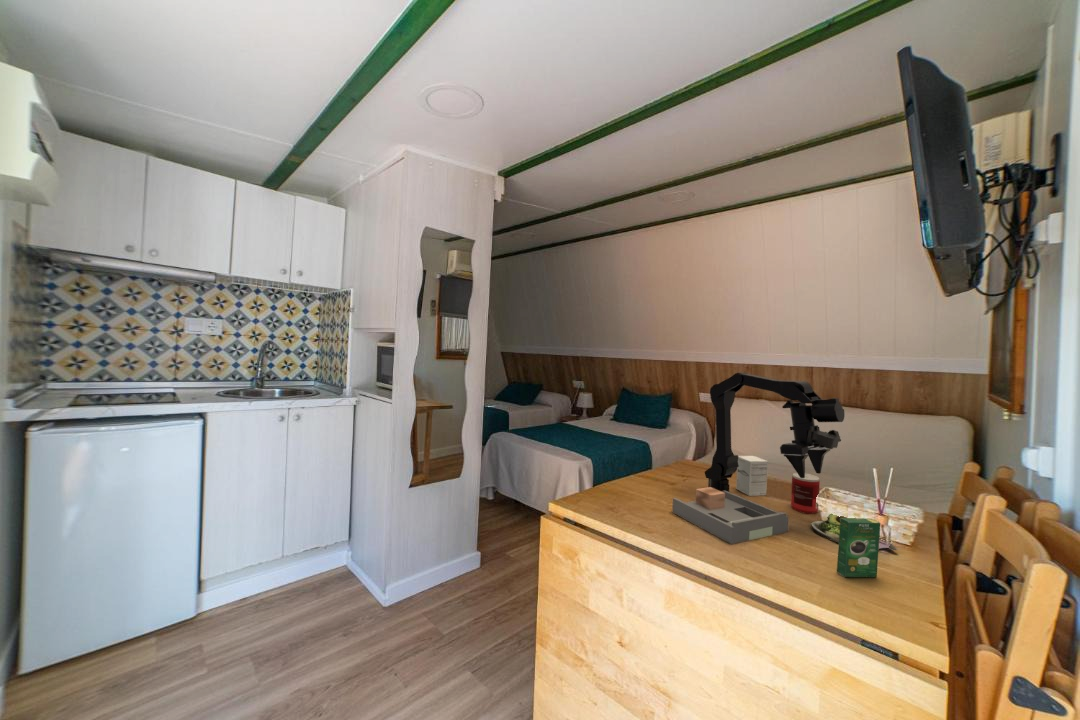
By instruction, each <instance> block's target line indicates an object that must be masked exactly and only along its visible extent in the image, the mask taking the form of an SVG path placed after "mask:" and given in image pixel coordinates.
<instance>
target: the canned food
mask: <svg viewBox="0 0 1080 720" xmlns="http://www.w3.org/2000/svg"><path fill="white" fill-rule="evenodd" d="M820 484H821V483H820V477H819V476H817V475H814V474H810V473H806V472H805V478H800V476H799V475H798V473H797V472H793V473H792V476H791V491H790V493H791V498H790V505H791V508H792V509H794V511H797V512H800V513H803V512H804V514H809V513H814V514H817V513H818V511H819V506H818V507H817V504H816V497H817V495H818V494H819V495H820Z"/></svg>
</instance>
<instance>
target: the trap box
mask: <svg viewBox="0 0 1080 720" xmlns="http://www.w3.org/2000/svg"><path fill="white" fill-rule="evenodd" d="M722 492H724V493H725V507H723V508H718V509H712V510H709V509H707V508H705V507H703V506H701V505H699V504H697V503H696V500H693V501H687V502H686V501H683V500H681V499H679V498H677V497H673V498H672V511H671V513H673V514H675V515H676V516H679V517H680V518H682V519H684V520H685V521H688V522H689V523H691V524H693V525H695V526H697V527H699V528H701V529H702V530H704V531H706V532H708V533H710V534H712V535H714V536H716V537H718V538H719V539H720V540H723V541H724V542H727V543H729V544H730V545H734V544H739V543H742V542H748V541H752V540H757V539H761V538H767V537H771V536H775V535H779V534H784V533H788V532H789V519H790V517H789V515H787V513H786V512H785V511H781V512H779V511H777V510H775V509H772V508H770V507H766V506H765V505H763V504H760V503H757V502H754V501H752V500H750V499H748V498H744V497H742V496H739V495H737V494H735V493H732V492H730V491H729V492H728V491H725V490H723V491H722Z"/></svg>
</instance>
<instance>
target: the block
mask: <svg viewBox="0 0 1080 720" xmlns="http://www.w3.org/2000/svg"><path fill="white" fill-rule="evenodd" d="M695 501H696V503H697V504H699V505H701V506H703V507H705V508H707V509H709V510H712V509H718V508H723V507H725V493H724V492H721V491H719V490H717V489H714V488H712V487H708V486H707V487H702V488H696V490H695Z"/></svg>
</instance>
